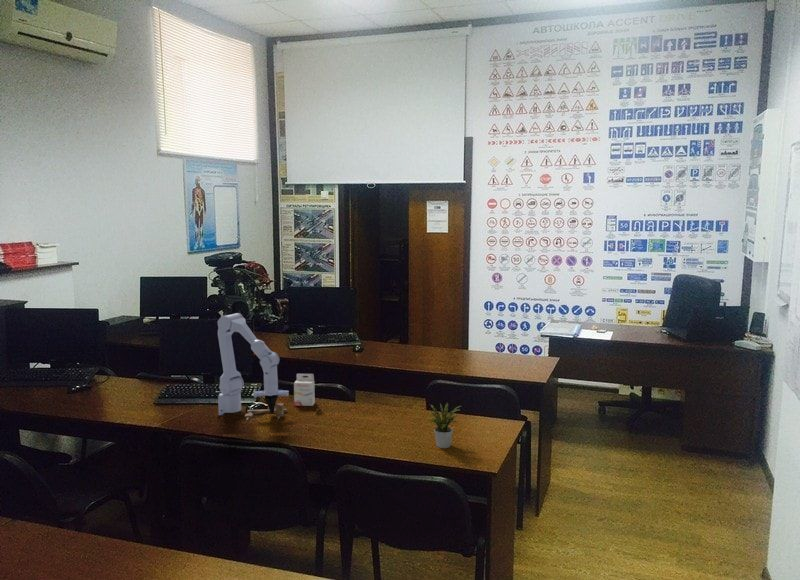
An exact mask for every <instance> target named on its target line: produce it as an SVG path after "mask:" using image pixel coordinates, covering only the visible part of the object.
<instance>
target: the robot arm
mask: <svg viewBox="0 0 800 580" xmlns="http://www.w3.org/2000/svg"><path fill="white" fill-rule="evenodd" d="M216 322H217V327H218V329H217V340H218V345H219V350H220V352H219V353H220V359H221V364H222V371H223V373H222V374H221V376H220V377H219V387H218V388H219V391H220V392H221V393H219V394H218V396H217V397H218V398H217V404H218V405H217V407H218V414H217V415H218V416H224V414H226V413H227V414H229V413H230V414H232V413H233V414H234V413H238V412H239V413H240V412H241V411H242V397H241V395H242V394H241V393H242V389H243V388H244V384H245V383H244V379H243V377H242V374H241V372H240V371H238V370H237V366H236V359H235V353H234V347H233V340H232V338H233V337H232V335H233V334H234V333H239V334H240V335H241V336H242V337H243V339H244V340H246V341H247V342H248V343H249V344H250V349H251V351H252V352H253V353H254V354H255V355H256V356H257V357H258V359H259V365H260V367H261V369H262V371H263V389H264V390H258V391H257V390H256V391H253V398H257V397H259V398H260V397H264V400H265V403H266V404H267V407H268V409H269V410H270V413H269V414H275V413H274V409H275V405H276V404H277V400H278V397H282V396H283V397H289V396H290V393H289V392H290V391H289V390H283V389H279V378H278V365H279V363H280V359H281V358H280V356H279V355H278V353H277V352H276V351H275V352H274V351H272V350H271V349H270V348H269V347H268V346H267V344H265V343H266V342H265V341H263V340H262V339H258V338H257V337H256V335H255V334H254V332H252V330H251V328H250V327H249V326H248V324H247V323H246V322H247V321H246V318H245V317H244V316H243V314H241V313H240V312H235V313H232V314H227V315H222V316H220V318H218V320H217V321H216Z"/></svg>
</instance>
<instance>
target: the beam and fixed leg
mask: <svg viewBox="0 0 800 580" xmlns="http://www.w3.org/2000/svg"><path fill="white" fill-rule="evenodd" d="M246 412H247V413H245V415H244V419H245V421H248V420H249V419H252V418H253V416H254V415H257V414H271V413H270V410H269V408H267V409H265V408H264V409H247V411H246ZM287 413H288V408H284V414H287ZM273 414H276V413H275V408H274V413H273Z"/></svg>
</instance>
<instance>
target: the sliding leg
mask: <svg viewBox="0 0 800 580" xmlns="http://www.w3.org/2000/svg"><path fill="white" fill-rule="evenodd" d="M274 409H275V413H274V414H275V418H276V419H278V420H279V419H280V418H283V417H284V415H285V413H284V409H285V408H284V403H282V402H281V403H280V402H279V403H277V402H276V404H275V408H274Z"/></svg>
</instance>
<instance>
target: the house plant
mask: <svg viewBox="0 0 800 580" xmlns="http://www.w3.org/2000/svg"><path fill="white" fill-rule="evenodd" d="M439 405H440V411H441V414H440V412H439V411H438V410H437V408H435V407H434V405H433V404H430V406H431V408H432V410H433V411H431V410H430V409H429V410H428V412H430V413H431V414H432V416H434V418H431V419H429V420H428V421H427V422H426V423H434V424H436V427H435V428H434V429H433V432H434V437H435V444H436V445H435V446H436V447H438V448H440V449H447V448H450V447H451V444H452V438H453V432H454V429H453V428H452V427H451V426H453V425H454V423H458V424H460V422H461V421H459V420H456V418H455V417H457V416H458V414H454V413H455V412H457V411H459V408H461V405H459V406H455V408H454V409H452V410H451V411H449V403H448V402H446V403H445V406H444V408H443V406H442V404H441V403H439ZM448 411H449V412H448ZM433 412H434V413H433ZM447 415H448V416H447ZM451 423H452V424H451ZM450 424H451V426H449V425H450Z"/></svg>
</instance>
